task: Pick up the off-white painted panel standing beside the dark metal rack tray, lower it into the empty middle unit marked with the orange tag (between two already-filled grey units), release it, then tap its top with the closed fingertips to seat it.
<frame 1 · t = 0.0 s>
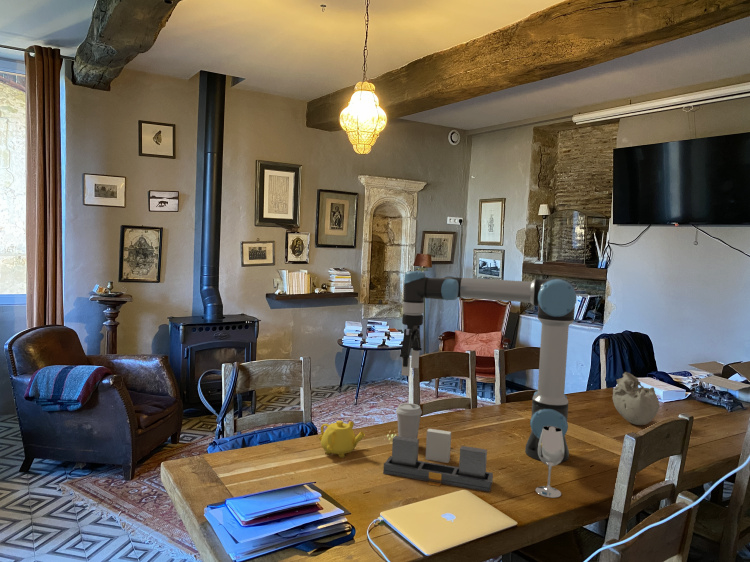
hand: (410, 371, 203), 28 cm above the table, fingers open, 13 cm apart
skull: (634, 423, 245), on the table
coffee cup: (407, 446, 205), on the table
rack: (437, 477, 178), on the table
wineglass: (548, 493, 171), on the table
teapot: (342, 452, 197), on the table
panel: (437, 459, 194), on the table
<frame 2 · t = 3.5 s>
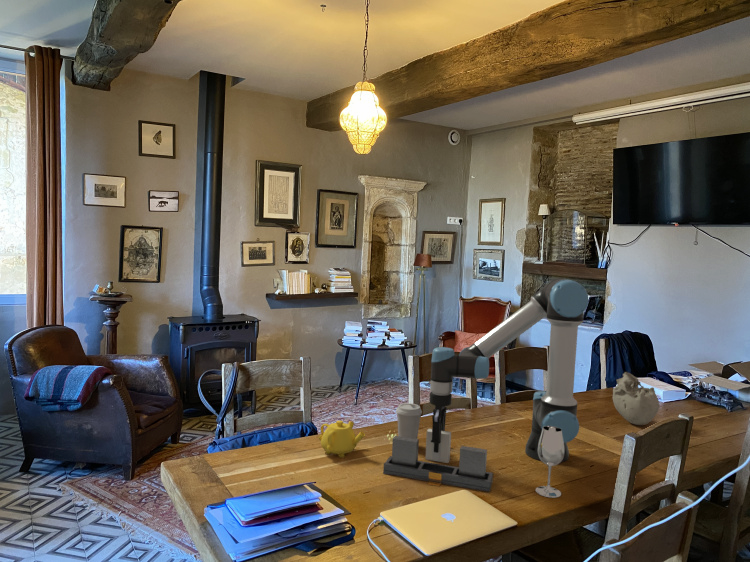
hand: (437, 458, 194), 0 cm above the table, fingers closed on panel, 3 cm apart
panel: (437, 459, 193), on the table, touching gripper
everything else where it was.
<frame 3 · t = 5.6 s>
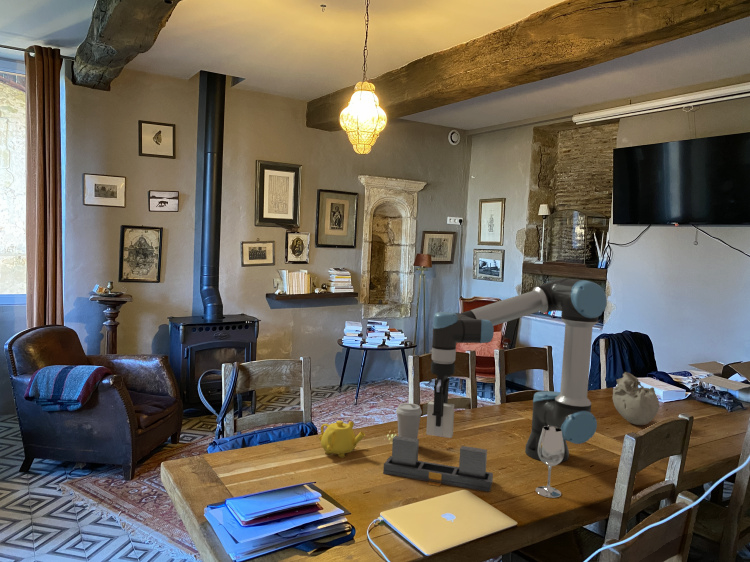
hand: (439, 433, 178), 14 cm above the table, fingers closed on panel, 3 cm apart
panel: (439, 434, 178), point 14 cm above the table, touching gripper
everything else where it was.
when the fingers open (4 cm above the table, at t = 7.6 s): panel drops 2 cm, resting on rack.
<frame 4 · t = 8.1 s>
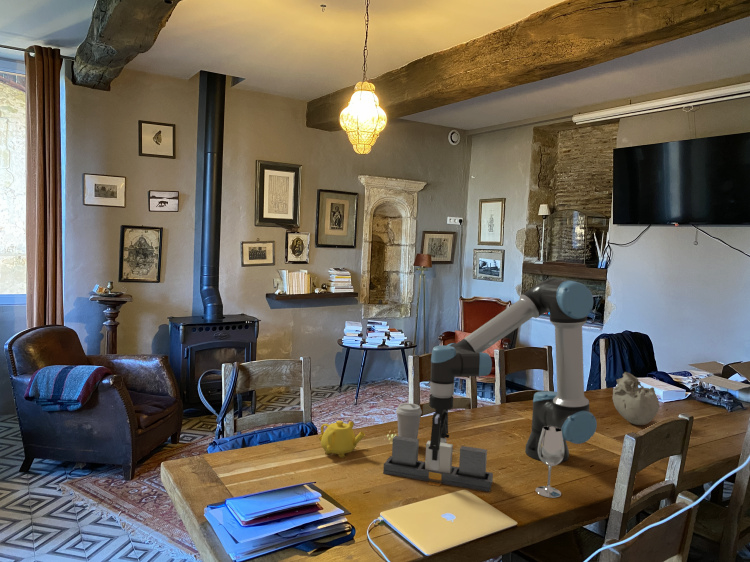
hand: (438, 463, 178), 5 cm above the table, fingers open, 10 cm apart
panel: (437, 474, 178), point 1 cm above the table, touching rack
everything else where it was.
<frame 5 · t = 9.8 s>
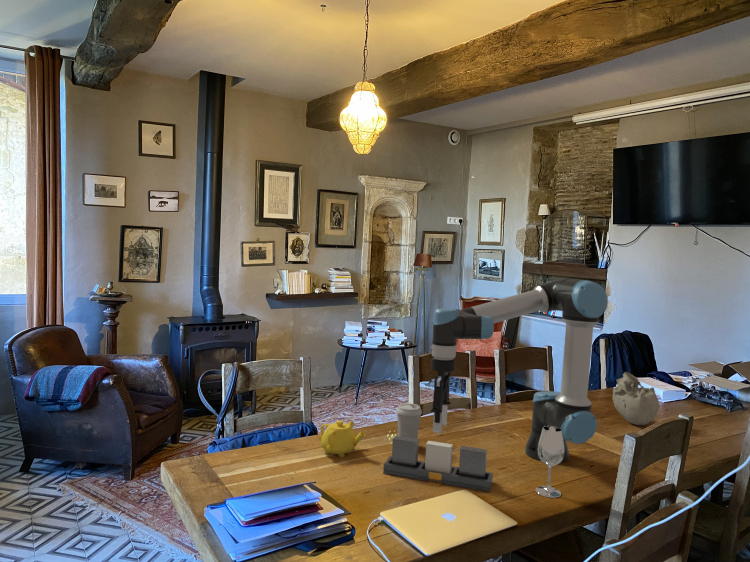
hand: (439, 428, 177), 16 cm above the table, fingers open, 8 cm apart
nothing on the table moved.
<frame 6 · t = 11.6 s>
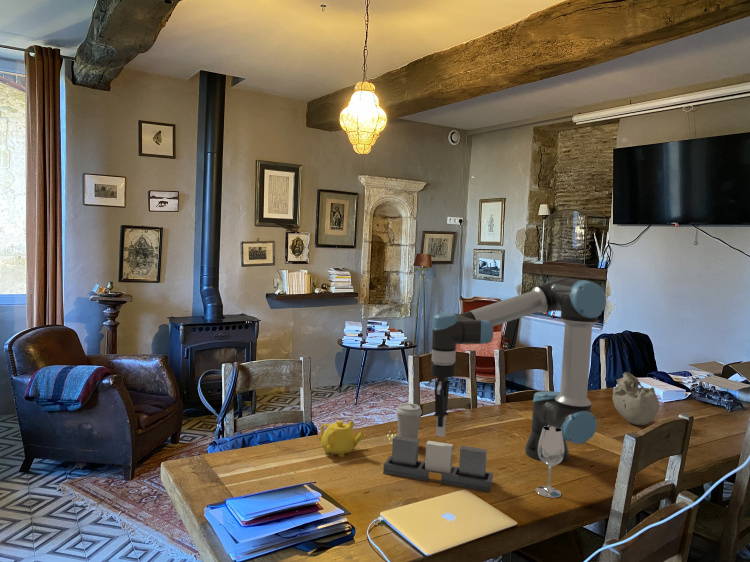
hand: (440, 435, 178), 14 cm above the table, fingers closed
nothing on the table moved.
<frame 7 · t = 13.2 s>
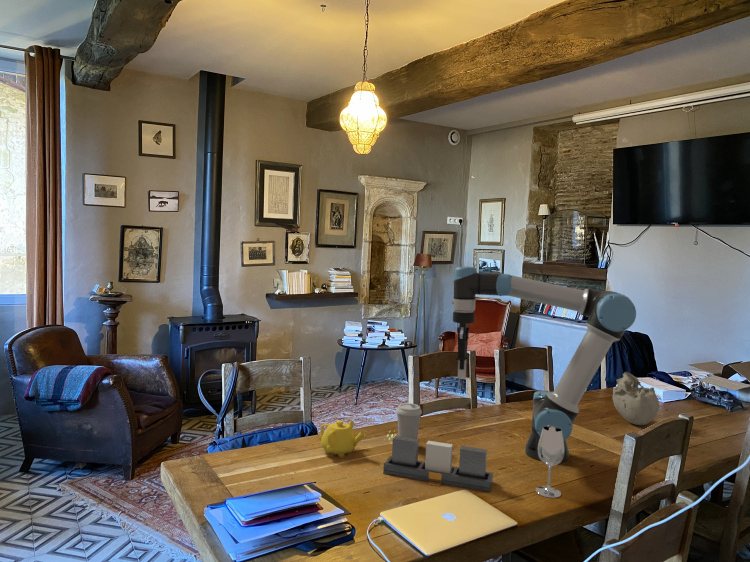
hand: (461, 378, 195), 28 cm above the table, fingers closed
nothing on the table moved.
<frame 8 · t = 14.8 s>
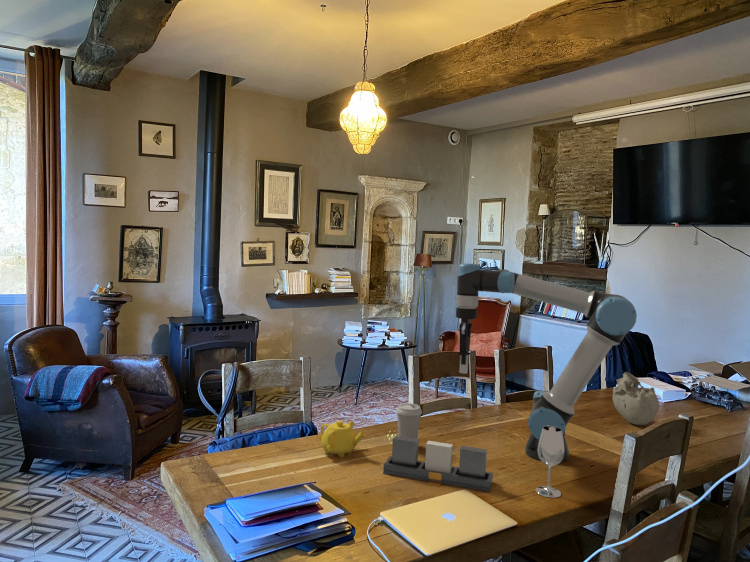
hand: (463, 372, 198), 29 cm above the table, fingers closed
nothing on the table moved.
at the end: panel 0.1 cm off-centre on the rack, point 1.0 cm above the rack's base; panel tilted 0°; the gripper is holding nothing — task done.
